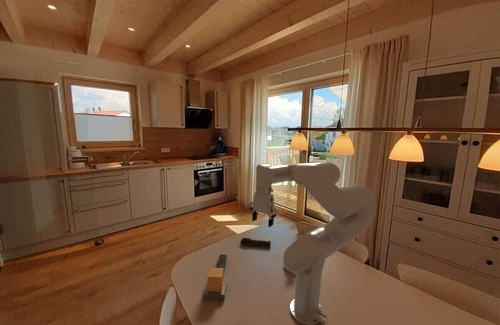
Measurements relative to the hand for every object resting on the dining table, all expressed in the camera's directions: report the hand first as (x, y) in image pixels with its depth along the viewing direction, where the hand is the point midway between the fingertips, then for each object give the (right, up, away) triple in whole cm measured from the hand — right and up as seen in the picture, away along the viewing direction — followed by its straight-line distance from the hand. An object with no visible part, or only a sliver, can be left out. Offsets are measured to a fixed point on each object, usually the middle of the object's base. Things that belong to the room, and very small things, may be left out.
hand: (262, 223), depth 105 cm
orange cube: (-21, -26, -10) cm, 35 cm away
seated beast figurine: (+16, -27, +9) cm, 32 cm away
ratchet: (-21, -27, +1) cm, 34 cm away
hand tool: (-3, -23, +28) cm, 36 cm away
